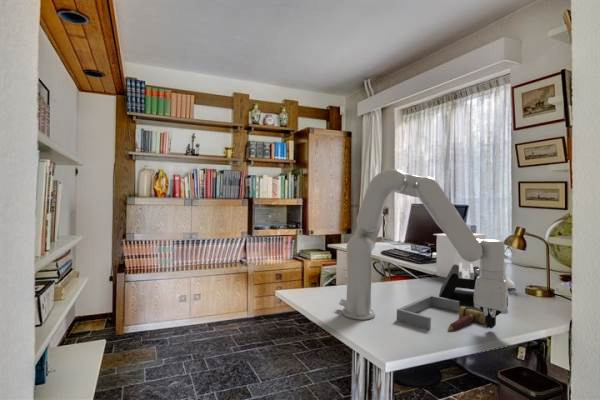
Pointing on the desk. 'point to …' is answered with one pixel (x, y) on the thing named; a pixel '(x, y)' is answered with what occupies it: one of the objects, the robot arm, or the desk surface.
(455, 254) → the white stepped block
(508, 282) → the flower in vase
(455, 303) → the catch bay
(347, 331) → the desk surface
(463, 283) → the device stand
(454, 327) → the gavel
